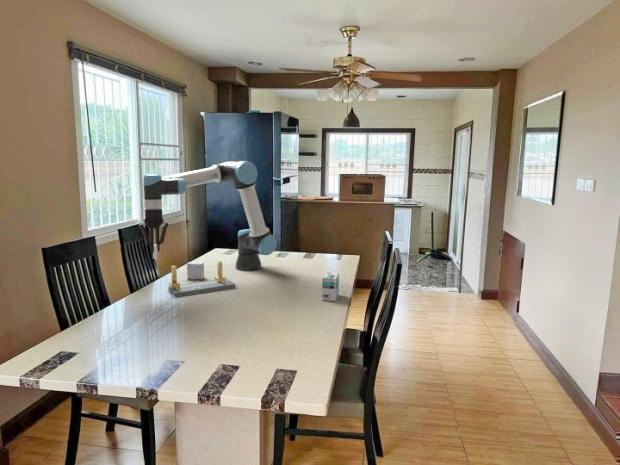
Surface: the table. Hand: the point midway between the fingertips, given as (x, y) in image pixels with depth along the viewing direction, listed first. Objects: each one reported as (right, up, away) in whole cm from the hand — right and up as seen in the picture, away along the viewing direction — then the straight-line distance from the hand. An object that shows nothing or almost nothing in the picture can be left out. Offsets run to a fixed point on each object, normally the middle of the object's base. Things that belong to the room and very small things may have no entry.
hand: (155, 258), depth 206 cm
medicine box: (+11, -13, +31) cm, 35 cm away
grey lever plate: (+19, -16, +12) cm, 28 cm away
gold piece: (+8, -14, +5) cm, 17 cm away
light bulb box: (+82, -19, +2) cm, 84 cm away
